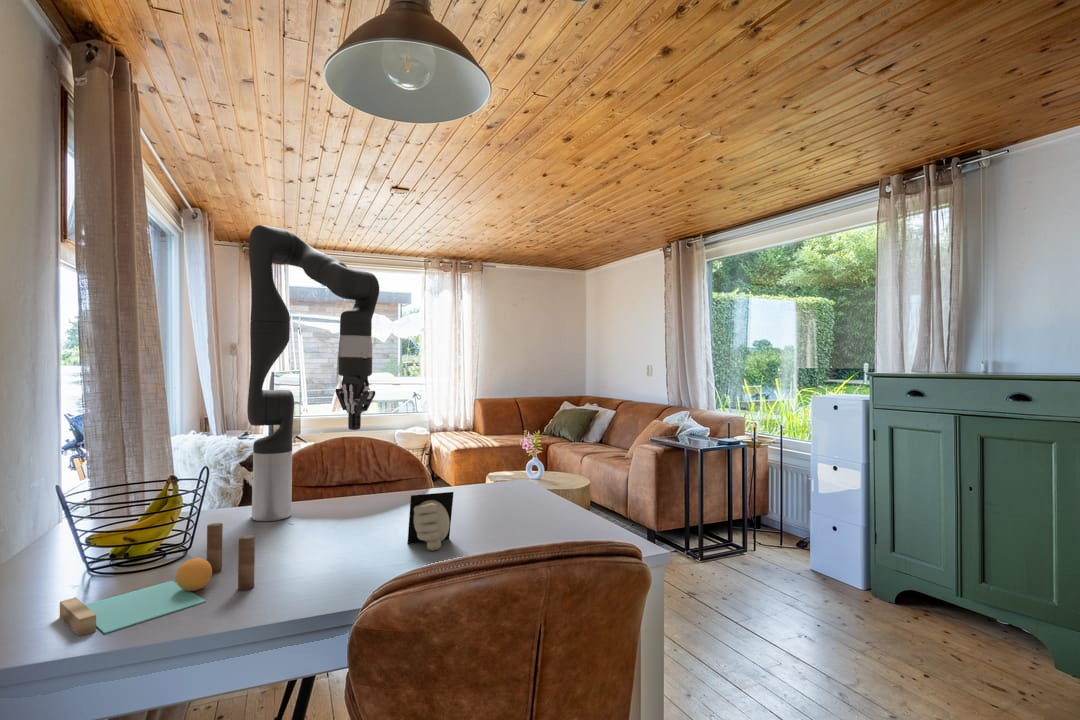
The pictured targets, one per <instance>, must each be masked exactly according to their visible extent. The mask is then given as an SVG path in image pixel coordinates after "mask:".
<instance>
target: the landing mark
mask: <svg viewBox="0 0 1080 720" xmlns="http://www.w3.org/2000/svg"><path fill="white" fill-rule="evenodd" d="M206 602H207V601H206V600H205V599H204V598H203V597H200V596H199V595H197V594H195V593H194V592H193V591H186V590H183V589H182V588H180V587H179V586H178V584H177V582H175V581H174V580H169V581H166V582H162V583H158V584H156V585H150V586H148V587H143V588H140V589H137V590H134V591H129V592H126V593H123V594H118V595H116V596H111V597H109V598H108V597H107V598H103V599H100V600H97V601H93V602H90V603H89V602H88V603H86V604H84V605H85V606H87V607H88V608H89V609H90V610H91V611H93V612H94V613H95V614H96V629H98V630H99V631H101V632H102V634H104V635H106V634H109V633H112V632H115V631H118V630H121V629H124V628H127V627H128V628H129V627H131V626H135V625H138V624H141V623H144V622H147V621H149V620H153V619H157V618H160V617H163V616H166V615H169V614H172V613H175V612H179V611H182V610H185V609H188V608H191V607H195V606H198V605H200V604H204V603H206Z"/></svg>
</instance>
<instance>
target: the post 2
mask: <svg viewBox="0 0 1080 720" xmlns="http://www.w3.org/2000/svg"><path fill="white" fill-rule="evenodd" d="M255 544H256V536H255V535H243V536H240V537H238V553H237V555H238V556H237V557H238V558H237V559H238V560H237V566H238V567H237V590H238V591H240V592H241V591H242V592H244V591H248V590H252V589H254V587H255V563H256V562H255V560H256V559H255V556H256V555H255V552H256V551H255V550H256V548H255V547H256V545H255Z"/></svg>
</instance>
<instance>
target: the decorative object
mask: <svg viewBox="0 0 1080 720" xmlns="http://www.w3.org/2000/svg"><path fill="white" fill-rule="evenodd" d="M454 493H455V492H454V491H448V492H437V493H436V492H435V493H425V494H413V495H410V503H409V514H408V515H409V519H408V529H407V530H408V533H407V545H411V544H412V543H413V544H420V543H426V549H427V550H429V551H436V550H439V549H440V548H441V547H442V541H446V540H450V533H451V524H452V513H453V503H454V501H453V500H454ZM413 544H412V545H413Z"/></svg>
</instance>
